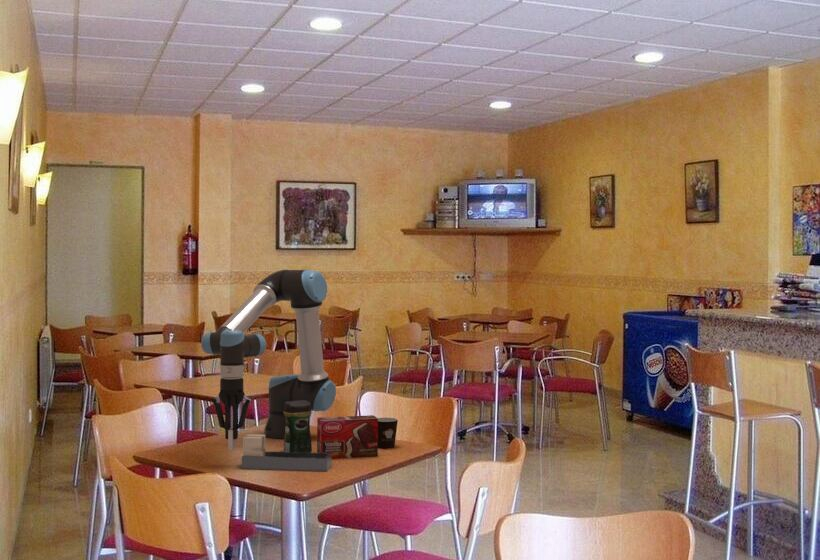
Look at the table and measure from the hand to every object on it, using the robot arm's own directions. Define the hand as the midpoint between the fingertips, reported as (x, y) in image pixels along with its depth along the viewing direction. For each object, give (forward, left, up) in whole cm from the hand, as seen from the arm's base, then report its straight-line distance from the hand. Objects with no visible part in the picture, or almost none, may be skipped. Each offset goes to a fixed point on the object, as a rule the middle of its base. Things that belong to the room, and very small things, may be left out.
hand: (231, 449), depth 301 cm
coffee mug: (-36, +46, -6) cm, 58 cm away
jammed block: (0, +8, -4) cm, 8 cm away
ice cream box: (-19, +36, -6) cm, 41 cm away
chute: (0, +19, -5) cm, 19 cm away
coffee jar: (-21, +18, -6) cm, 28 cm away
